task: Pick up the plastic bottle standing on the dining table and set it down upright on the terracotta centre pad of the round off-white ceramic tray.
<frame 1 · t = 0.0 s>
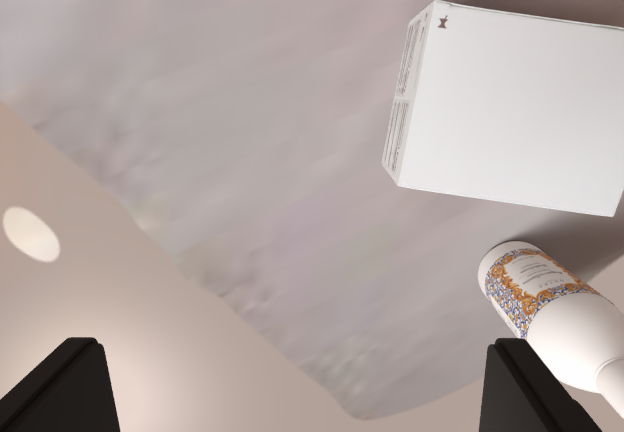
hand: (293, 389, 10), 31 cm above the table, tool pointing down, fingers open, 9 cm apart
supplement box: (483, 110, 38), on the table
bath foam: (509, 270, 42), on the table
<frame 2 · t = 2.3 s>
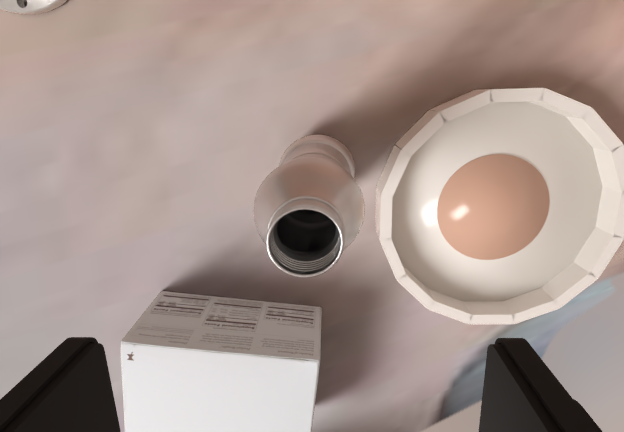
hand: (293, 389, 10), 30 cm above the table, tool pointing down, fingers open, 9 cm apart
supplement box: (239, 349, 45), on the table
round tray: (488, 205, 39), on the table
plastic bottle: (317, 166, 38), on the table
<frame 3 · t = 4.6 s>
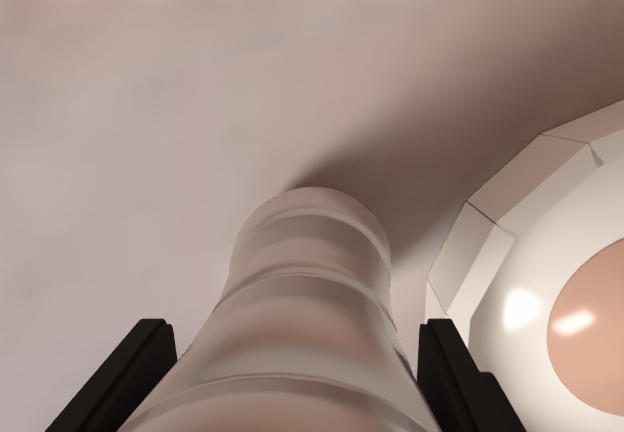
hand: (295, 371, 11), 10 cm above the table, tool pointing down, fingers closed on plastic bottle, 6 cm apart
plastic bottle: (313, 241, 20), on the table, touching gripper
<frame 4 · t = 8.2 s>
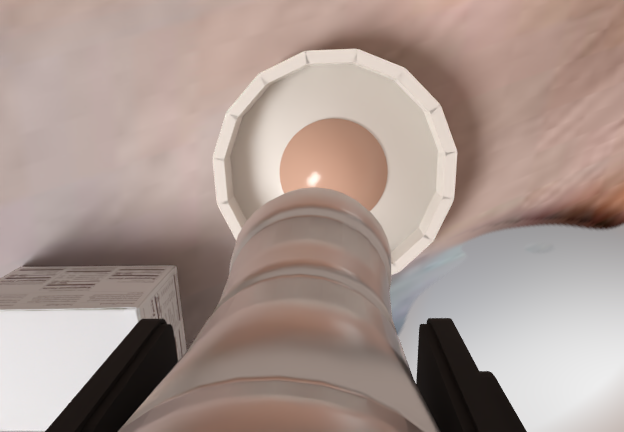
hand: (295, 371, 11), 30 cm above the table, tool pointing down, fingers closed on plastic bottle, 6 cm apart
supplement box: (110, 318, 45), on the table
round tray: (333, 171, 39), on the table
plastic bottle: (313, 241, 20), point 20 cm above the table, touching gripper
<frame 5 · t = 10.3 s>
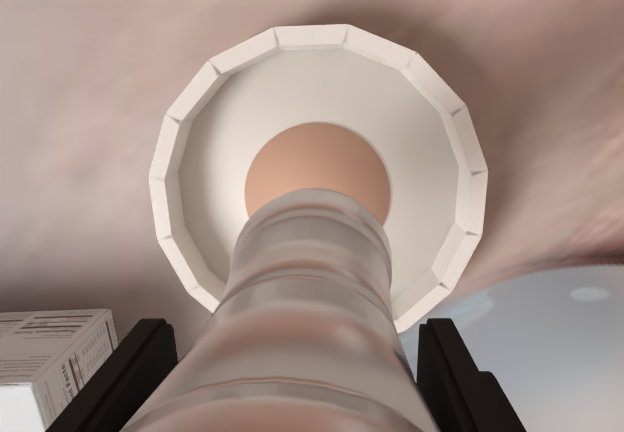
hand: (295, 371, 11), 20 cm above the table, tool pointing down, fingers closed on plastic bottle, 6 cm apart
supplement box: (34, 376, 35), on the table
round tray: (317, 193, 29), on the table
plastic bottle: (313, 242, 20), point 10 cm above the table, touching gripper
when the fingers open (12 cm above the table, at t = 12.2 s): plastic bottle drops 1 cm, resting on round tray.
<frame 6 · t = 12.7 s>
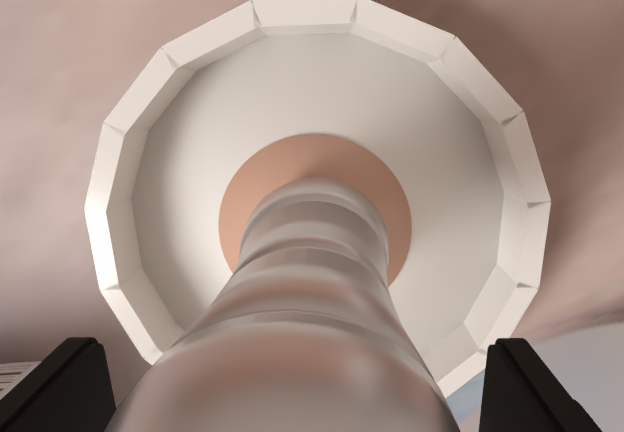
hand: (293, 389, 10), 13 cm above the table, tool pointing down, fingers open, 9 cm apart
round tray: (314, 225, 22), on the table
plastic bottle: (316, 229, 21), point 1 cm above the table, touching round tray
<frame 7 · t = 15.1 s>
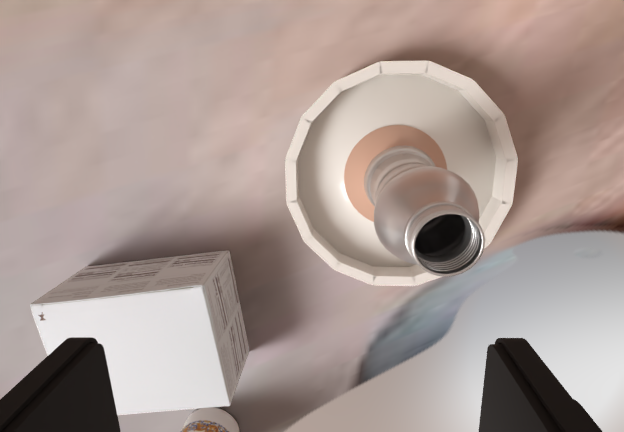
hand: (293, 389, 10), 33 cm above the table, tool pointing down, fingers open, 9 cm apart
supplement box: (171, 308, 48), on the table
bath foam: (213, 426, 52), on the table
round tray: (393, 175, 41), on the table
plastic bottle: (396, 175, 40), point 1 cm above the table, touching round tray
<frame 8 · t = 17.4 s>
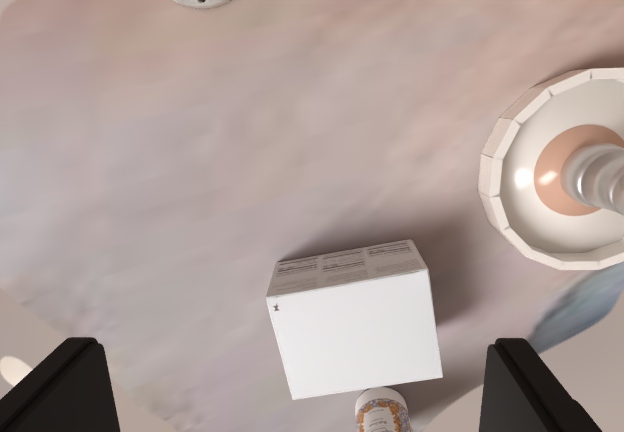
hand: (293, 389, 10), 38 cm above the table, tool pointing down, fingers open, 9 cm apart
supplement box: (352, 296, 52), on the table
bath foam: (380, 405, 56), on the table
round tray: (575, 170, 46), on the table
plastic bottle: (582, 170, 45), point 1 cm above the table, touching round tray
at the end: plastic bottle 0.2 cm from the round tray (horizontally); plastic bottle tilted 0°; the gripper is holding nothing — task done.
